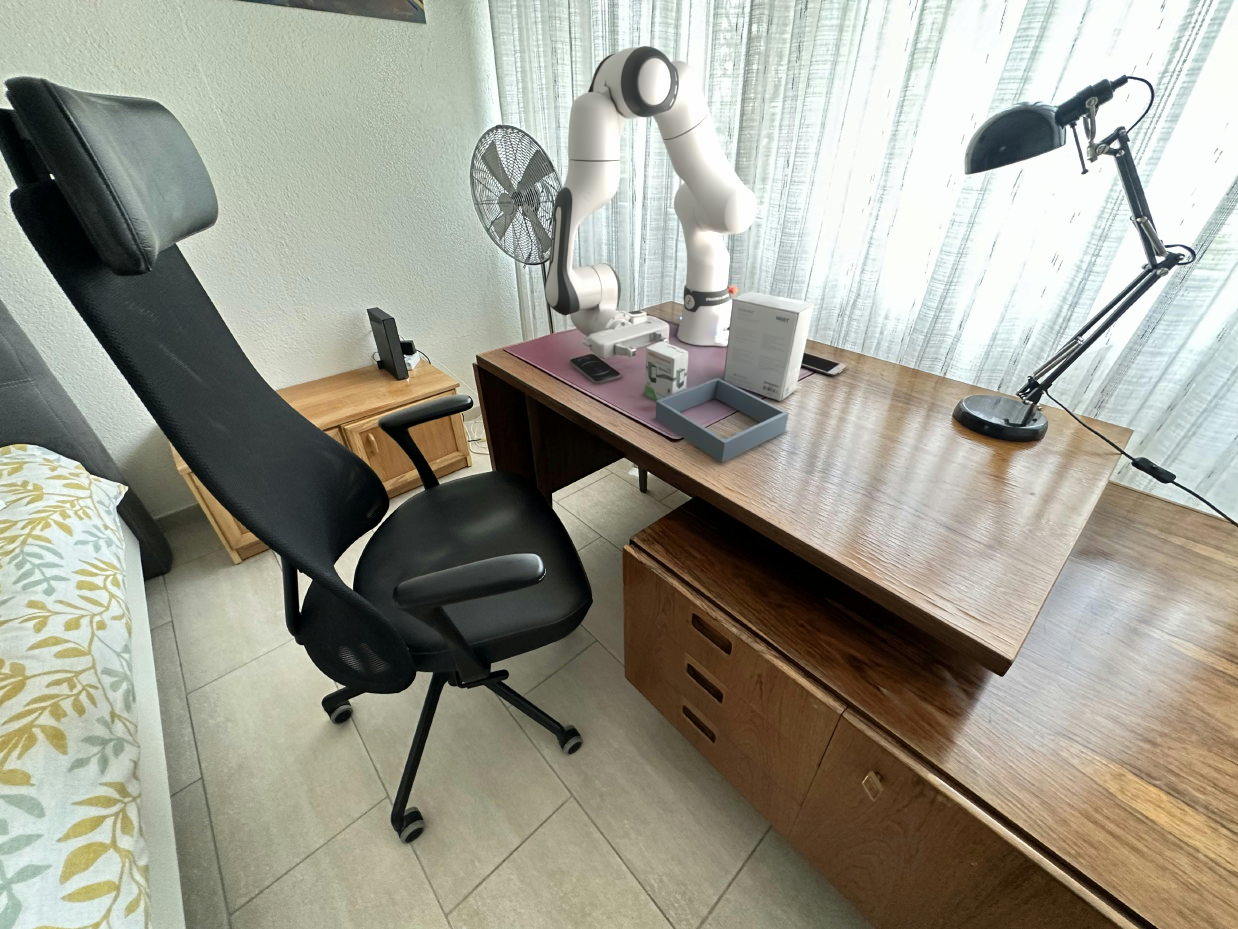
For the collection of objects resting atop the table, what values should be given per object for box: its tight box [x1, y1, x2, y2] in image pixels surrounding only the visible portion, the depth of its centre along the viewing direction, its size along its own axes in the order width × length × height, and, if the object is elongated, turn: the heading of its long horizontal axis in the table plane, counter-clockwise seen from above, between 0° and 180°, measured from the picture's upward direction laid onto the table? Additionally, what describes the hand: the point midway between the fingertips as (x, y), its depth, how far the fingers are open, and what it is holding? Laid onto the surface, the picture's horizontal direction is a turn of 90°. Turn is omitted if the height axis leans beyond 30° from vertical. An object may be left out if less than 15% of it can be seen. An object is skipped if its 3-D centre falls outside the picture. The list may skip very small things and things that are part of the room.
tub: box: [655, 377, 790, 464], centre depth 96 cm, size 18×20×4 cm
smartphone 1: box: [569, 353, 621, 385], centre depth 120 cm, size 8×1×15 cm
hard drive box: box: [722, 291, 815, 402], centre depth 105 cm, size 16×8×20 cm, turn 47°
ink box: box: [644, 341, 690, 401], centre depth 104 cm, size 9×5×12 cm, turn 43°
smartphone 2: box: [800, 351, 847, 377], centre depth 120 cm, size 7×15×1 cm, turn 43°
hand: (650, 348), depth 106 cm, fingers open, 8 cm apart
